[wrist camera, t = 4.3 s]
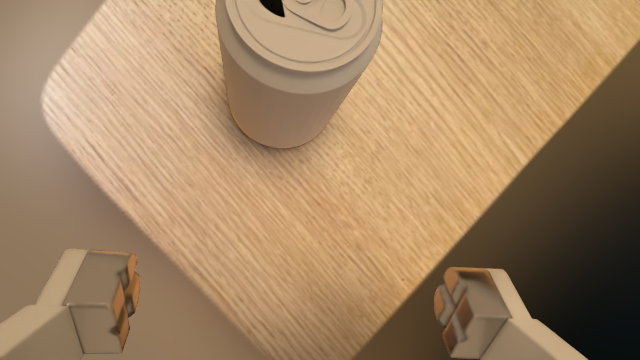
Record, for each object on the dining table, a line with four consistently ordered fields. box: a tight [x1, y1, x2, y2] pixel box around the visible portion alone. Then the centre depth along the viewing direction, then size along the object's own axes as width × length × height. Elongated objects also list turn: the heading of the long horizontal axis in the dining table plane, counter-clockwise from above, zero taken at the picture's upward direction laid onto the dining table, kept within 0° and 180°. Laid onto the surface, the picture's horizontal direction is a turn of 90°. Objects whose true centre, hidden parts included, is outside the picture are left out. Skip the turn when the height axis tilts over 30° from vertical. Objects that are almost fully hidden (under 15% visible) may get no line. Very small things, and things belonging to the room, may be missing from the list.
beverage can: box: [215, 0, 383, 148], centre depth 21 cm, size 6×6×12 cm
